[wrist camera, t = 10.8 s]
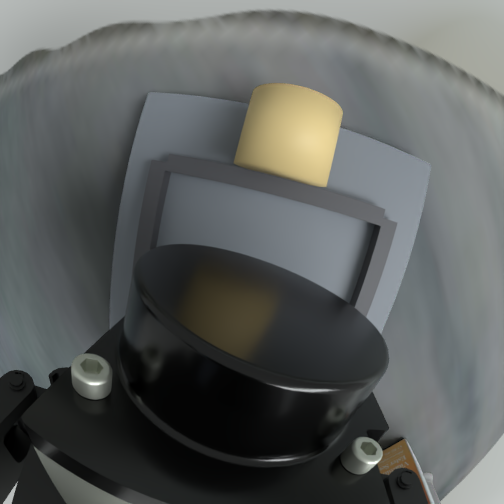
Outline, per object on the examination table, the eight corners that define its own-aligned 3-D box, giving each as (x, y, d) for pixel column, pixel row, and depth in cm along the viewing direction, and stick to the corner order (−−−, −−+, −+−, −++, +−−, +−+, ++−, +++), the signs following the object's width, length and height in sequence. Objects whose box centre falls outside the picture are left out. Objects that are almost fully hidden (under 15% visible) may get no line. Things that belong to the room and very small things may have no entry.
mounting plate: (298, 457, 17) (300, 507, 12) (122, 412, 18) (95, 454, 12) (417, 166, 13) (476, 158, 7) (159, 100, 13) (112, 64, 8)
